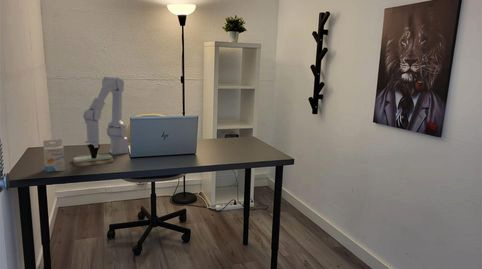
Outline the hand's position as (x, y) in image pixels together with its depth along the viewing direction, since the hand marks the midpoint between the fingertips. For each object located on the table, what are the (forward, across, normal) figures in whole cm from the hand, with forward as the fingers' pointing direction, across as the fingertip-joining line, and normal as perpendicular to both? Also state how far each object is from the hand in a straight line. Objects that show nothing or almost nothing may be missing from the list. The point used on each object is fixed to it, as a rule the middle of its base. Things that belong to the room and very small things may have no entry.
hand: (94, 157), depth 189 cm
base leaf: (+3, -3, 0) cm, 4 cm away
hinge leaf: (+2, -3, 0) cm, 4 cm away
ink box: (+3, +4, -19) cm, 20 cm away
